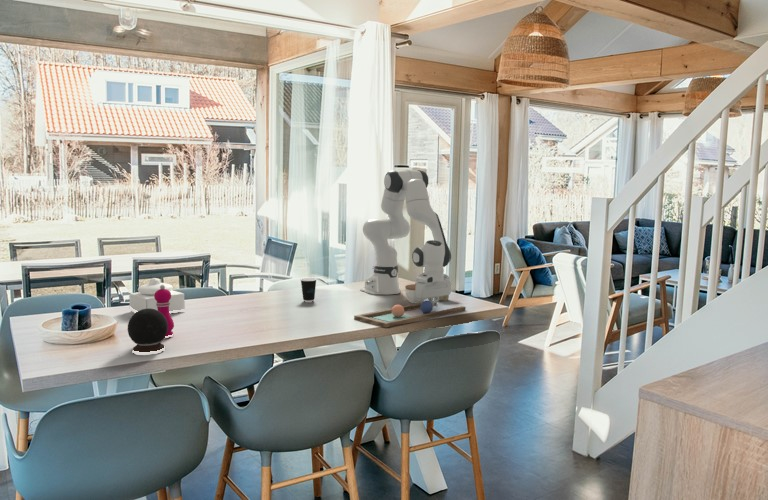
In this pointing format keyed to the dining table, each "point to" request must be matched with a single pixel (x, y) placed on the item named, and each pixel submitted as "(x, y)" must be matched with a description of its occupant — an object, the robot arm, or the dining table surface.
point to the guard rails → (367, 318)
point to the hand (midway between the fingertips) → (433, 306)
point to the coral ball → (398, 311)
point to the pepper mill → (164, 306)
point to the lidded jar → (412, 294)
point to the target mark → (390, 317)
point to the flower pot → (444, 297)
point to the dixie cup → (308, 289)
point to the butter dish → (147, 299)
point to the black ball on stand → (147, 330)
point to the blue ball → (426, 306)
